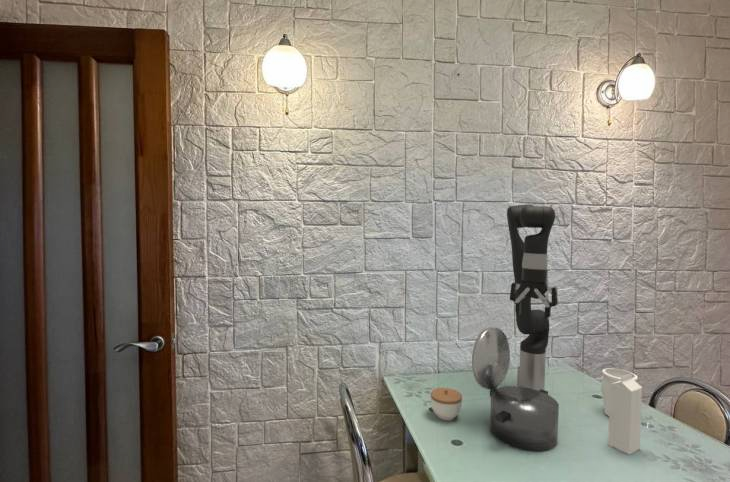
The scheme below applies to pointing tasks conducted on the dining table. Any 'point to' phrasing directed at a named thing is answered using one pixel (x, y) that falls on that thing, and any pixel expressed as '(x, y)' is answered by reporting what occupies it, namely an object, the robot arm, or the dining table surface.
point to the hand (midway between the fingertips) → (532, 316)
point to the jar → (611, 377)
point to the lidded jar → (446, 403)
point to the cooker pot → (524, 418)
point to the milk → (625, 415)
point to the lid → (491, 358)
